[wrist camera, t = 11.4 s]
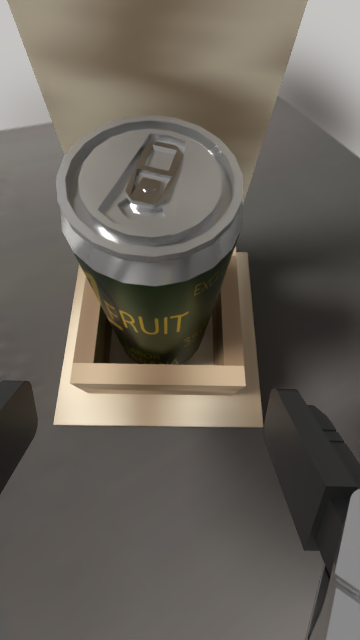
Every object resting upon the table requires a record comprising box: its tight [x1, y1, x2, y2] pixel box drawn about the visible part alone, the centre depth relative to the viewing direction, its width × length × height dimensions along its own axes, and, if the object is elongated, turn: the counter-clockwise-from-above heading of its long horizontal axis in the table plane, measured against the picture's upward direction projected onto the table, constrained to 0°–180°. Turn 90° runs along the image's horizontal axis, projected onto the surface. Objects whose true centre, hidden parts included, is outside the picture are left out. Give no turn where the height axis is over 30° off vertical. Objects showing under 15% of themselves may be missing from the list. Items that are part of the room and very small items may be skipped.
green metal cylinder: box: [56, 115, 243, 365], centre depth 13 cm, size 5×5×12 cm
